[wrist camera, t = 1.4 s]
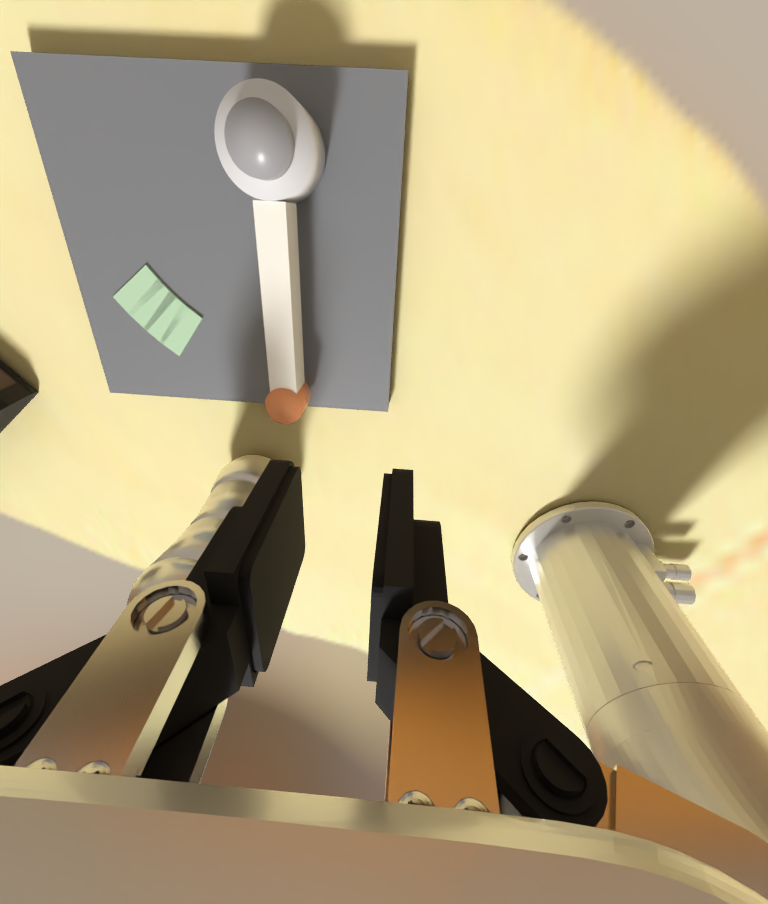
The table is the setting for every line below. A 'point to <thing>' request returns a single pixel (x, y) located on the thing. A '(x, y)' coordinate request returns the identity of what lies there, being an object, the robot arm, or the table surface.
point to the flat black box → (12, 395)
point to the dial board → (220, 223)
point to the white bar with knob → (274, 217)
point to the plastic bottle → (204, 523)
